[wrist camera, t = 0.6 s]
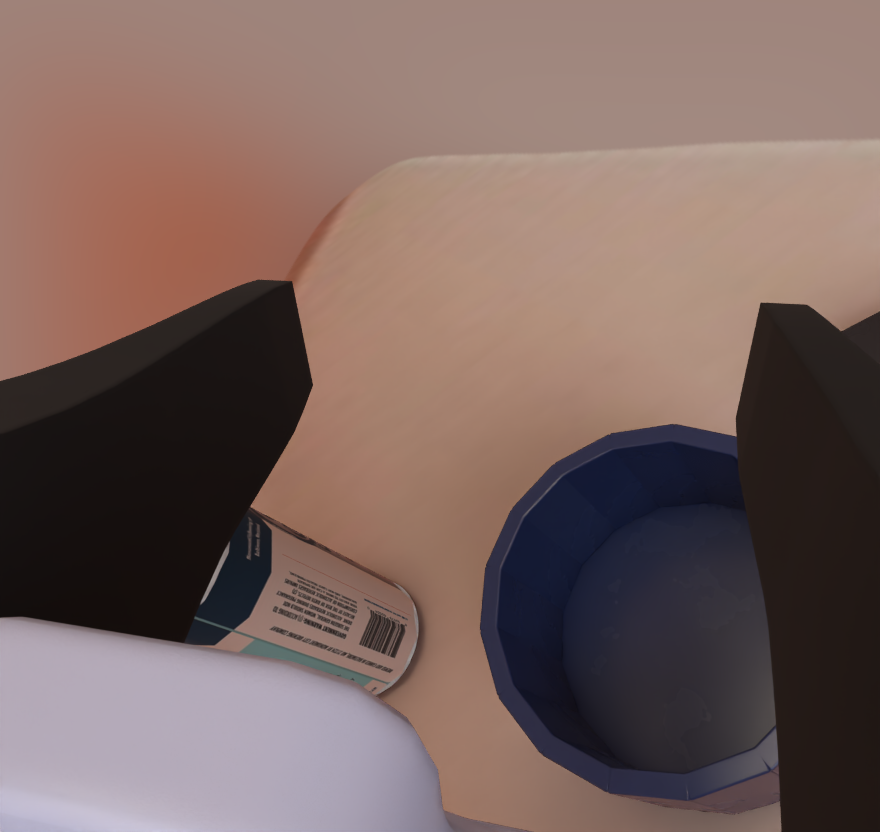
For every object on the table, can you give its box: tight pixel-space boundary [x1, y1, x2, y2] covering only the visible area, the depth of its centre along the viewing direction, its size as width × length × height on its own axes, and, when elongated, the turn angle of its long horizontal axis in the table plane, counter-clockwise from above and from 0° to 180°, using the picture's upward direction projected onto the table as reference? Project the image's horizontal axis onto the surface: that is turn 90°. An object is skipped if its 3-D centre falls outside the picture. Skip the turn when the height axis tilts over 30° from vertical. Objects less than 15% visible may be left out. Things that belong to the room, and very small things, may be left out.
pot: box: [480, 424, 780, 814], centre depth 22 cm, size 10×10×5 cm
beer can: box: [184, 507, 418, 695], centre depth 27 cm, size 5×5×12 cm
